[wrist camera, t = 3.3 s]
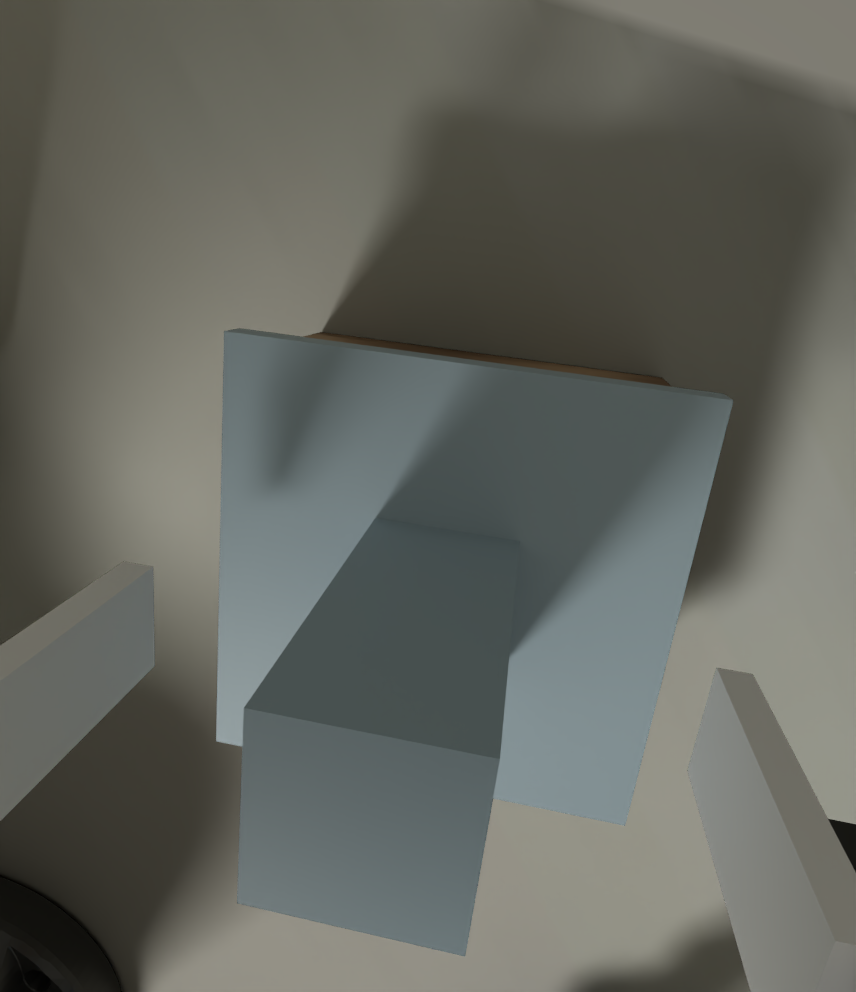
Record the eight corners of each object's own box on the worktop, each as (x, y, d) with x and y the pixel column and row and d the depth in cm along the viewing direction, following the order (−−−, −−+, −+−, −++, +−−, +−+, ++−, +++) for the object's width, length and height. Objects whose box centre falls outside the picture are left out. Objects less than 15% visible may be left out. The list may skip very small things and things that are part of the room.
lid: (229, 722, 23) (18, 1022, 14) (239, 328, 19) (-50, 379, 10) (621, 802, 22) (679, 1197, 13) (723, 393, 18) (924, 527, 8)
